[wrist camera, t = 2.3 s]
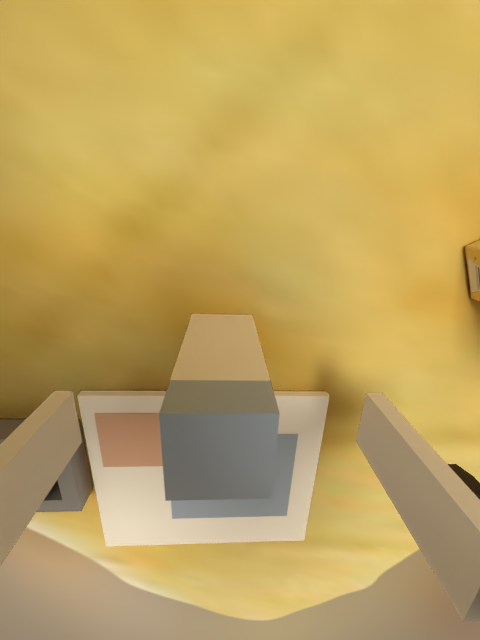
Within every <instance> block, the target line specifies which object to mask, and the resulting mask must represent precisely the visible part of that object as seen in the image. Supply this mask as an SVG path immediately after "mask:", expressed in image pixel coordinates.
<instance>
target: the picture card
mask: <svg viewBox="0 0 480 640" xmlns="http://www.w3.org/2000/svg"><path fill="white" fill-rule="evenodd" d="M165 394H166V391H81V392H80V393H79V394H78V395H77V398H78V403H79V408H80V413H81V418H82V423H83V429H84V434H85V439H86V444H87V449H88V455H89V460H90V465H91V470H92V475H93V480H94V486H95V491H96V496H97V501H98V506H99V511H100V517H101V522H102V527H103V532H104V537H105V543H106V546H133V545H165V544H198V543H231V542H264V541H297V540H304V538H305V532H306V526H307V521H308V515H309V510H310V504H311V498H312V493H313V487H314V482H315V476H316V470H317V465H318V459H319V454H320V448H321V442H322V437H323V431H324V425H325V420H326V414H327V409H328V403H329V397H330V396H329V394H328V392H327V391H274V395H275V398H276V402H277V406H278V409H279V413H280V415H279V425H278V434H277V443H276V453H275V462H274V471H273V480H272V490H271V499H226V500H177V501H165V488H164V475H163V461H162V448H161V435H160V421H159V412H160V409H161V406H162V403H163V400H164V397H165Z"/></svg>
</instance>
